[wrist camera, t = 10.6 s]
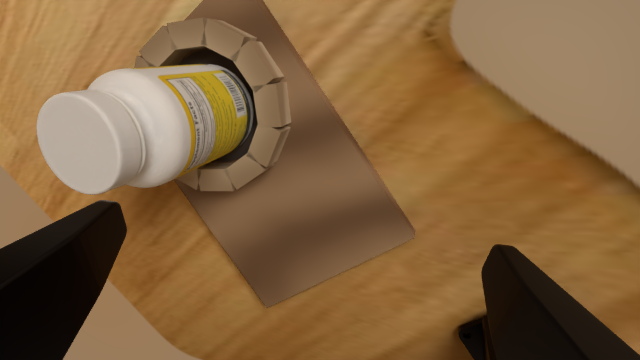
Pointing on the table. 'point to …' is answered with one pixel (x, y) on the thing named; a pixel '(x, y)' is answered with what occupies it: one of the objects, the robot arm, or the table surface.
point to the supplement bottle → (143, 126)
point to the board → (279, 159)
